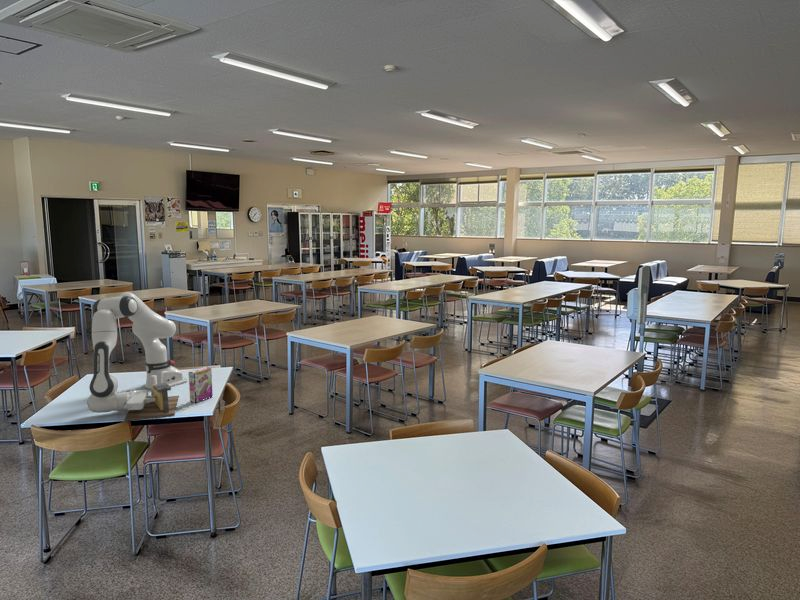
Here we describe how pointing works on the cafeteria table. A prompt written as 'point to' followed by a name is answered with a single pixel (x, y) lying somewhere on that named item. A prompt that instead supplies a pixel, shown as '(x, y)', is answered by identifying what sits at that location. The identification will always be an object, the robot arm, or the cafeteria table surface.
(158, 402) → the yellow rectangular slab
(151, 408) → the pintle board
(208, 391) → the candy bar box
